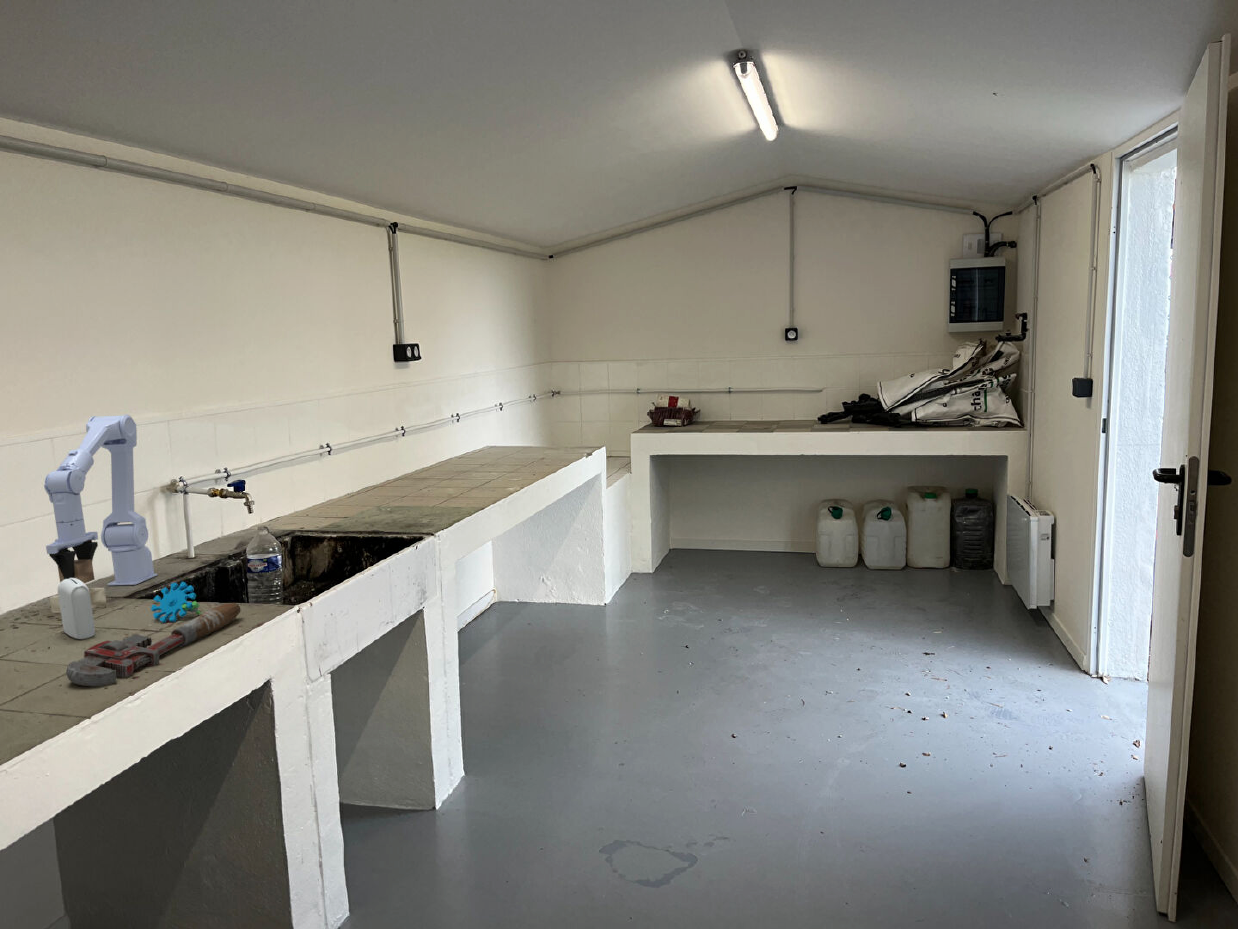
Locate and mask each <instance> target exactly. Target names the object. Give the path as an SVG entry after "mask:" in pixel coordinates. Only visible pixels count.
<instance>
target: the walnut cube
mask: <svg viewBox="0 0 1238 929" xmlns="http://www.w3.org/2000/svg"><path fill="white" fill-rule="evenodd" d="M93 567H94V565H93V561H92V559H89V560H78V559H74V572H75V576H74V578H76V579H79V580H80V581H82V582H83V583H84V584H87V583H89V582H91V581H95V573H94V568H93ZM57 570H58V577H59V578H58V579H59V584H60V583H61V582H62V581H63V580H65V579H64V577H63V575H62V573H61V571H60V569H59V567H58V566H57Z"/></svg>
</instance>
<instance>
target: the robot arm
mask: <svg viewBox="0 0 1238 929" xmlns="http://www.w3.org/2000/svg"><path fill="white" fill-rule="evenodd" d="M85 429H86V430H85V431H86V434H85V436H84V438H83V440H82V441H81V443H80V445H79V446H78V448H77V449H76V448H75V449H72V450H70V451H69V452H68V454H67V455H66V457H65V458H64V460H63V461H62V462H61V463H60V464H59V466H58V467H57V469H56V470H54V471H53V470H52V471H50V472H49V473H48V474H47V475H46V476H45V478H44V485H43V487H44V490H45V492H46V494H48V499H49V501H50V503H52V507H53V513H54V518H55V521H54V522H55V526H56V532H57V533H56V535H57V538H55V539H54V542H52V543H49V544H47V545H45V549H46V554H47V555H49V557H50V558H51V559H52V560H53V561H54V562H55V564H56V565H57V568H58V567H59V569H60V571H61V573H62V575H63V577H64V579H69V578H74V576H75V572H74V560H89V559H92V562H94V560H93V559H94V555H95V553H96V550H97V548H98V547H99V546H98V543H99V542H98V541H97V540H99V533H98V531H88V532H86V525H85V519H84V512H83V505H82V497H81V493H82V492H83V491H84V488H85V482H86V479H87V476H86V475H87V474H88V473H89V471H90V469H91V468H92V467H93V465H94V462H95V460H94V457H93V456H94V455H95V454H97V452H98V451H99V449H100V448H103V449H105V450H108V452H109V453H110V457H111V458H110V460H111V461H110V462H111V464H110V467H111V469H110V471H111V513H110V514H109V515H108V516H107V517H105V518H104V519H103V521H102V523H103V524H102V530H101V534H100V541H101V543H102V545H103V546H104V547H105V548H106V549H107V551H108V552H111V558H112V559H111V560H112V566H113V574H114V580H113V581H110V582H109V583H107V586H134V585H135V586H136V585H137V584H138V585H139V584H140V583H142V582H143V583H144V582H145V581H147V580H150V579H152V578H154V577H156V576H158V574H157V573H155V570H154V564H153V563H154V562H153V556H152V551H151V549H150V548H149V547H148V546H146V544H147V542H148V539H149V530H148V527H147V522H146V518H145V517H144V516H142V515H141V514H139V513H138V512H137V511H135V479H134V477H135V476H134V474H135V473H134V448H135V447H137V439H138V438H137V437H138V436H137V435H138V434H137V433H138V432H137V423H136V422H135V420H134V419H133V417H132V416H130V414H123V415H107V416H106V415H105V416H96V415H95V416H91V417H90V418H89V419H88V421H87V422H86V423H85ZM120 523H121V524H120ZM71 548H72V549H73V550H70V549H71Z"/></svg>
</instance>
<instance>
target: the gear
mask: <svg viewBox="0 0 1238 929" xmlns="http://www.w3.org/2000/svg"><path fill="white" fill-rule="evenodd" d="M194 590H195V589H194V586H192V585H191V584H190V585H188V584H187V583H186V582H185V581H181V582H180V584H178V583H177V582H171V584H170V589H168V587H164V588H161V590H160V592H161V593H162V594H163V597H161V596H159V595H158V594H157V595H156V596H155V597H153V601H154V602H156V603H160V605H159V606H158V605H156V604H152V605H151V607H150V610H151V611H152V612H153V614H152V616H153V618H154V619H155V620H158V619H159V621H160V622H162V623H164V624H165V623H166V622H167V620H168V621H170V622H172V623H174V622H176V621H177V615H179V616H180V617H181V618H184V617H185V616H187V613H196V614H197V615H198V616H200V615H199V614H201V615H202V612H201V611H200V610H199V609H198V608H199V607H200V604H199V603H198V602H197V601H196V600H195V599H196V597H197V594H196V593H195V592H194ZM187 593H188V594H187ZM187 599H191V600H194V601H192V602H191V601H187ZM157 611H160V612H157Z"/></svg>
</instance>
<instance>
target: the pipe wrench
mask: <svg viewBox="0 0 1238 929" xmlns="http://www.w3.org/2000/svg"><path fill="white" fill-rule="evenodd" d="M240 613H241V605H239V604H238V603H236V602H229V603H228V602H227V603H223V604H220V605H218V606H217V605H216V606H215V607H213V608H210V609H209V610H207V611H205V612H204V613H201V615H198V616H197V617H195V618H193V619H191V620H189V621H188V622H186V623H184V624H183V625H181V626H179V627H177V628H174V629H173V630H172V632H171V634H170V635H168V636H166V637H164V638H163V639H160V640H158V641H157V642H155V643H153V642H152V641H153V640H152V637H150V636H145V635H141V634H140V635H139V634H135V633H134V634H132V635H130V636H127V637H126V638H122V640H117V639H116V640H115V639H114V640H107V639H106V640H104V641H101V642H99V643H96V644H94V645H91V646H90V647H88V648H86V650H84V653H83V658H81V659H79V660H77V661H76V660H73V661H72V662H70V663H68V664H67V667H66V672H65V674H66V677H67V679H68V680H69V681H70V682H71V683H73V684H76V685H80V686H85V687H104V686H107V685H111V684H114V683H116V682H117V678H122V679H123V678H124V679H126V678H128V677H131V676H133V673H134V671H135V670H137V669H139V668H140V667H142V666H157V665H158V664H160V656H161V655H163V654H165V653H167V652H169V651H171V650H173V649H174V648H176V647H184V646H186V645H188V644H190V643H191V642H193V641H196V640H198V639H200V638H203V637H205V636H207V635H209V634H212V633H214V632H215V631H218V630H220V629H221V628H223V627H224V628H225V626H227V625H228V624H230V623H232V622H233V621H235V619H236V618H237V617H238V615H239V614H240ZM211 632H212V633H211Z"/></svg>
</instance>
